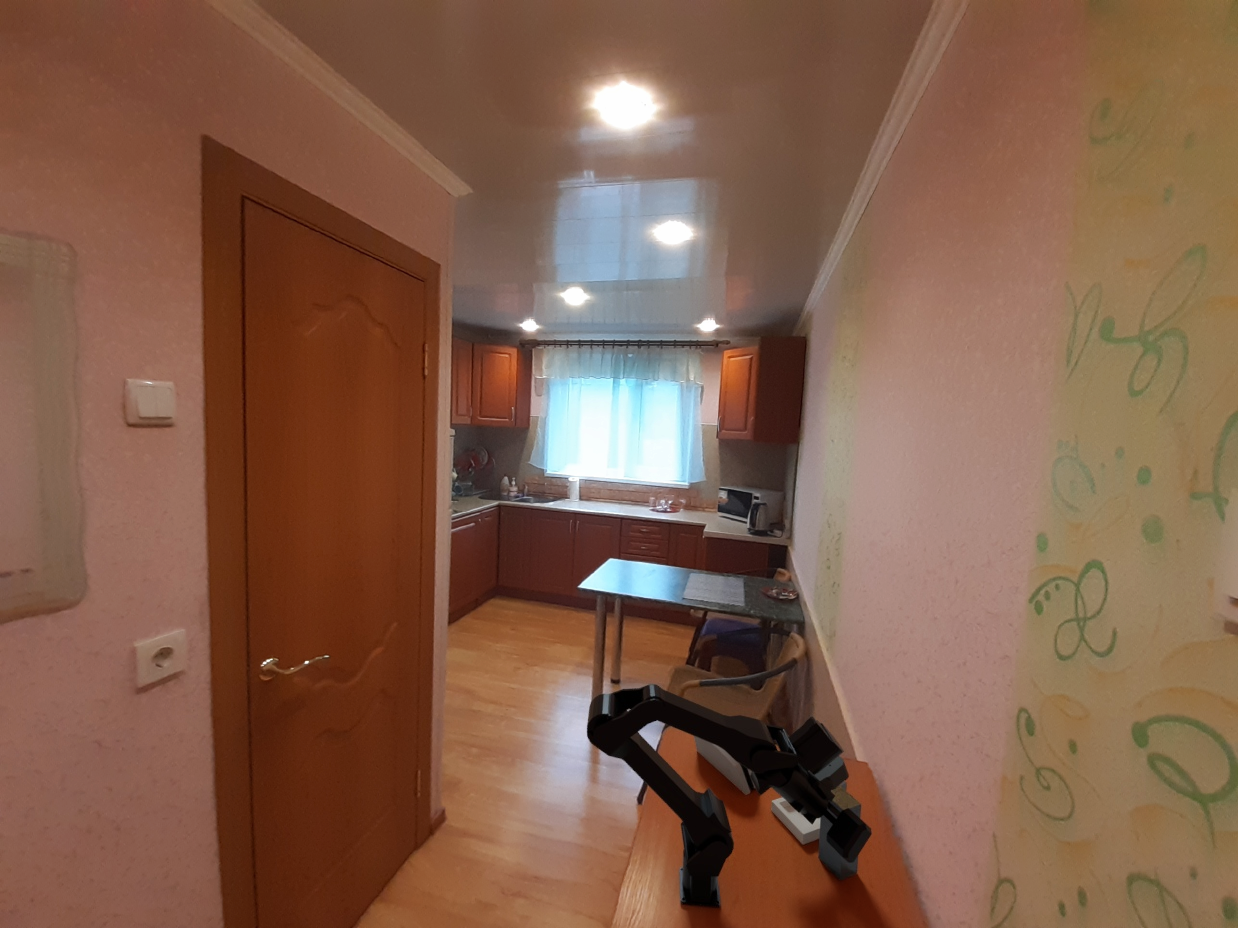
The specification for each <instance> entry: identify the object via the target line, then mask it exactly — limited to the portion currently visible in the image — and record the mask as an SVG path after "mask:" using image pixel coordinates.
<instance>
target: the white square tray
mask: <svg viewBox="0 0 1238 928" xmlns="http://www.w3.org/2000/svg"><path fill="white" fill-rule="evenodd" d="M770 805H771V806H770V808H771V809H770V810H771V812H772V813H773V814H774V815H775V816H776V817H777V818H778V820H780V822H781V823H782V824H783V825H784V826H785V827H786V828H787V829H788V830H789V832H791V834H792V835H793V836H794V837H795V838H796V840H798V841H799V842H800V844H801V845H802V846H803V845H805V844H809V843H811V842H814V841H816V840H819V837H820V818H821V817H820V818H817V819H816V820H815V822H814V823H813V825H812V824H811V823H810V822H809V821H808V820H807V819H806V818H805V817H804V816H803V815H802V814H801V813H798V812H797V811H796V810H795V809H794V808H793V807H792V806H791V805H790V804H789V803H788V802H787V801H786V800H785V799H784V798H783V797H782V796H780V797H779V798H776V799H773V800H771V804H770Z"/></svg>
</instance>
